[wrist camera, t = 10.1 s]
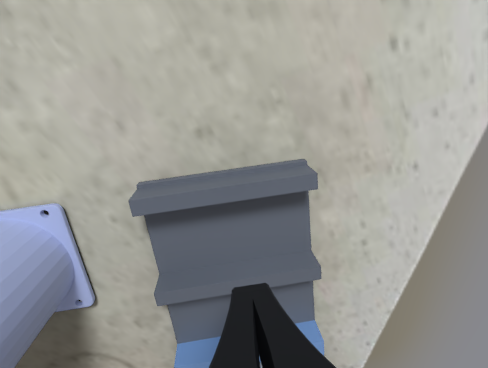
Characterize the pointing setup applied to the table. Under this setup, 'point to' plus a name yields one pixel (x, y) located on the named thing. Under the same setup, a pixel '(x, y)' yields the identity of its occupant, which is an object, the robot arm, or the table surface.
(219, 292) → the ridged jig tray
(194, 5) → the table surface
